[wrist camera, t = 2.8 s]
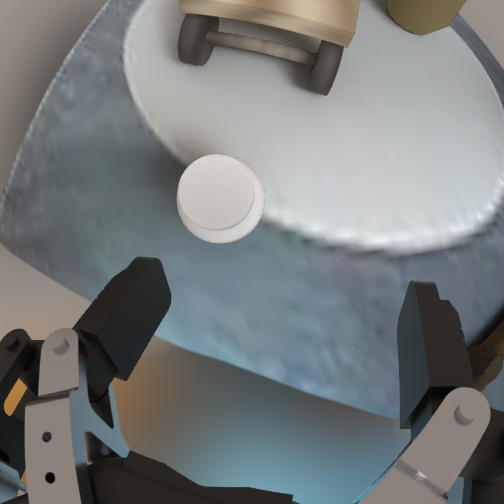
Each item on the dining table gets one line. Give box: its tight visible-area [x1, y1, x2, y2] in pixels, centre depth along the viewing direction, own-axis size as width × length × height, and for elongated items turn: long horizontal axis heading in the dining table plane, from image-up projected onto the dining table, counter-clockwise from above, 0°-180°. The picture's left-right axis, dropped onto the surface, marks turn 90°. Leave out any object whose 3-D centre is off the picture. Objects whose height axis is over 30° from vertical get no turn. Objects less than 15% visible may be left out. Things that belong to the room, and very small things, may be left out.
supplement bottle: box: [177, 154, 265, 243], centre depth 21 cm, size 5×5×10 cm
